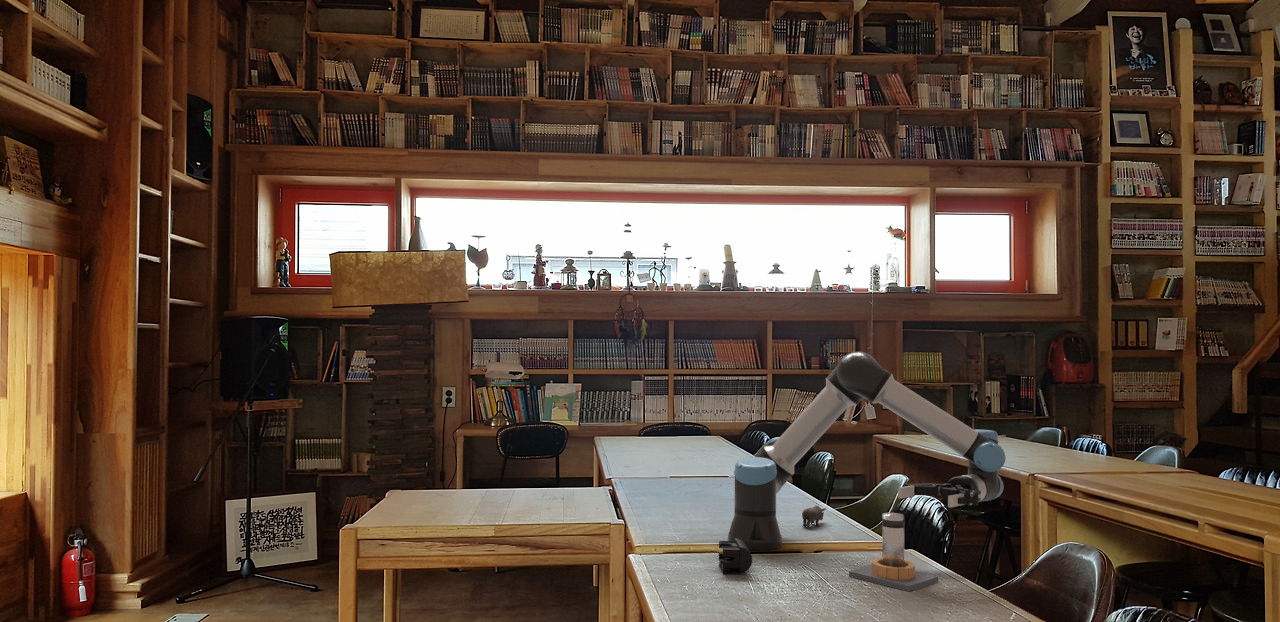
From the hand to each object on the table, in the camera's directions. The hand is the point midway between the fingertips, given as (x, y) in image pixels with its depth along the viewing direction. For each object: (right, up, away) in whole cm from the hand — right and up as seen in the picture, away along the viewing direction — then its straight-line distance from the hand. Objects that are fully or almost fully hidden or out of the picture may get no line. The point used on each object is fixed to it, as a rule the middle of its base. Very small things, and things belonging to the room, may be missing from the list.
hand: (923, 497), depth 203 cm
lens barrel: (-11, -16, -9) cm, 21 cm away
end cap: (-48, -17, -3) cm, 51 cm away
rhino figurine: (-16, -21, +52) cm, 58 cm away
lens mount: (-11, -17, -9) cm, 22 cm away
